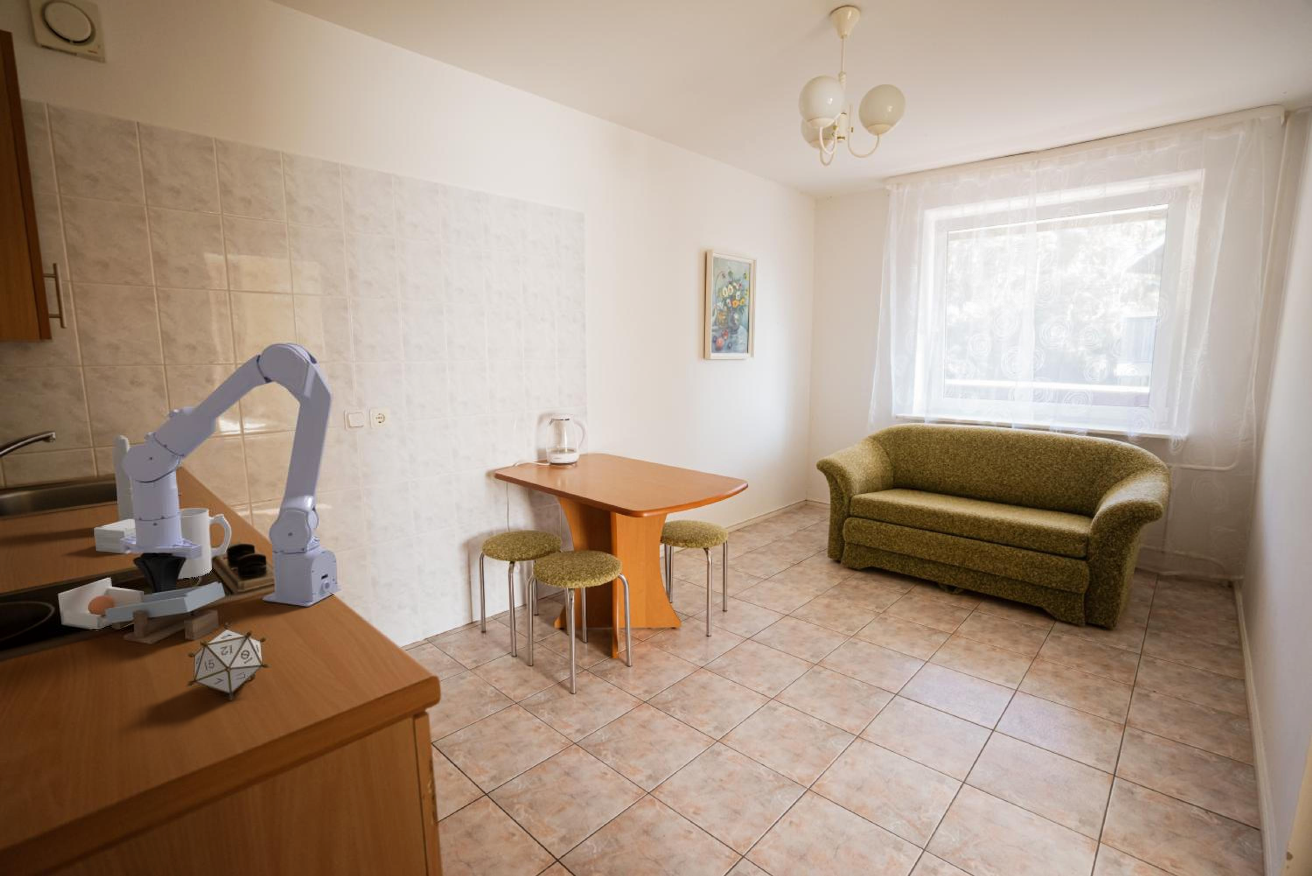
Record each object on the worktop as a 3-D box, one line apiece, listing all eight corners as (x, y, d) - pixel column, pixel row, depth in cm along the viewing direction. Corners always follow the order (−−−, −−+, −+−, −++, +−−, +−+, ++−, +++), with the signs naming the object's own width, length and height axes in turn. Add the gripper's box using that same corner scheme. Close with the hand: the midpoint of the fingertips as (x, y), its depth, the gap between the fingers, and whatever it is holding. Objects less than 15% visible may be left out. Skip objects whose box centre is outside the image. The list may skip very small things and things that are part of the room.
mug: (168, 582, 111) (162, 519, 110) (169, 571, 117) (163, 511, 115) (235, 571, 118) (230, 511, 116) (233, 561, 123) (228, 504, 121)
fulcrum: (233, 621, 97) (231, 595, 96) (176, 648, 88) (174, 619, 87) (159, 610, 100) (156, 584, 100) (96, 635, 91) (93, 607, 91)
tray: (146, 611, 99) (142, 582, 99) (98, 630, 93) (94, 599, 92) (111, 606, 101) (107, 577, 100) (61, 624, 94) (58, 594, 94)
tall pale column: (148, 530, 141) (138, 436, 138) (125, 534, 138) (115, 438, 135) (135, 521, 147) (125, 432, 144) (112, 525, 144) (102, 433, 141)
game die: (225, 711, 80) (221, 635, 83) (287, 688, 80) (280, 614, 84) (168, 715, 71) (165, 631, 75) (237, 689, 72) (231, 607, 75)
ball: (122, 598, 98) (107, 588, 98) (100, 606, 95) (85, 596, 95) (117, 614, 98) (103, 604, 99) (95, 623, 95) (80, 613, 96)
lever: (247, 586, 98) (243, 571, 98) (187, 612, 89) (182, 595, 88) (173, 598, 102) (169, 583, 102) (108, 623, 93) (103, 607, 92)
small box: (162, 543, 133) (160, 520, 133) (125, 554, 126) (123, 530, 125) (132, 540, 135) (130, 517, 134) (94, 551, 127) (91, 528, 126)
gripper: (95, 518, 96) (104, 599, 98) (168, 526, 93) (175, 611, 95) (142, 507, 103) (149, 583, 105) (211, 515, 99) (217, 593, 101)
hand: (164, 595), depth 100 cm, fingers closed
